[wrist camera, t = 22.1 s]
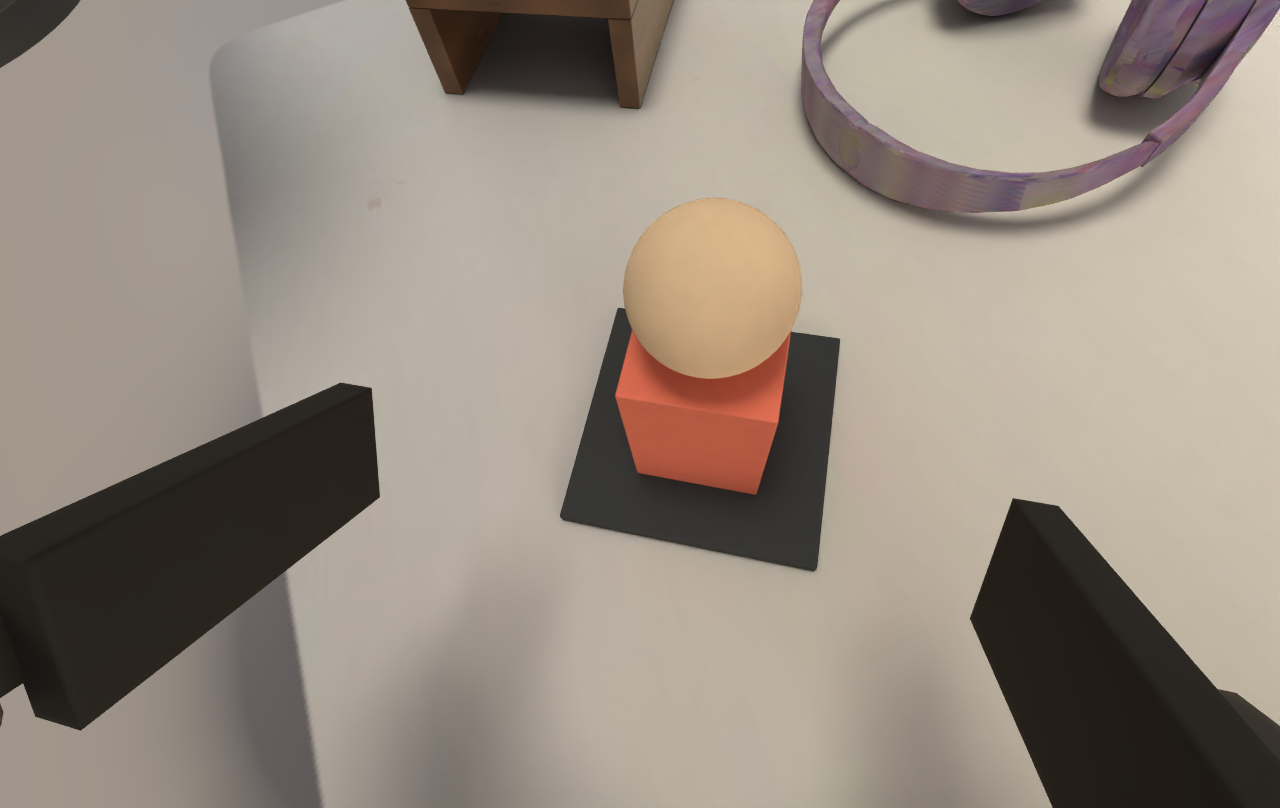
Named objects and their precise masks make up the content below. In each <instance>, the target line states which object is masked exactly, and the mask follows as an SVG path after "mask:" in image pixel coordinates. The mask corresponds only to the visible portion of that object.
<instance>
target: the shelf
mask: <svg viewBox="0 0 1280 808" xmlns="http://www.w3.org/2000/svg"><path fill="white" fill-rule="evenodd" d="M406 2H407V4H408V6H409V7H410V8H409V10H410V12H411V14H412V17H413V19H414V21H415V24H416V26H417V28H418V31H419V33H420V35H421V38H422V40H423V42H424V45H425V47H426V49H427V52H428V54H429V56H430V59H431V61H432V63H433V66H434V68H435V70H436V73H437V75H438V77H439V80H440V82H441V84H442V87H443V89H444V91H445V93H455V94H463V93H464V91H465V89H466V87H467V85H468V83H469V81H470V79H471V77H472V75H473V73H474V71H475V68H476V66H477V64H478V62H479V60H480V58H481V56H482V54H483V52H484V50H485V48H486V46H487V44H488V42H489V39H490V37H491V35H492V33H493V31H494V29H495V27H496V25H497V23H498V21H499V19H500V17H501V15H502V13H521V14H540V15H558V16H576V17H595V18H608V23H609V31H610V38H611V45H612V53H613V60H614V67H615V75H616V82H617V89H618V97H619V104H620V107H631V108H640V106H641V103H642V99H643V96H644V93H645V90H646V87H647V83H648V80H649V77H650V74H651V71H652V67H653V64H654V61H655V58H656V54H657V51H658V48H659V45H660V42H661V38H662V35H663V32H664V29H665V26H666V22H667V19H668V16H669V13H670V9H671V6H672V3H673V0H406Z"/></svg>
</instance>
